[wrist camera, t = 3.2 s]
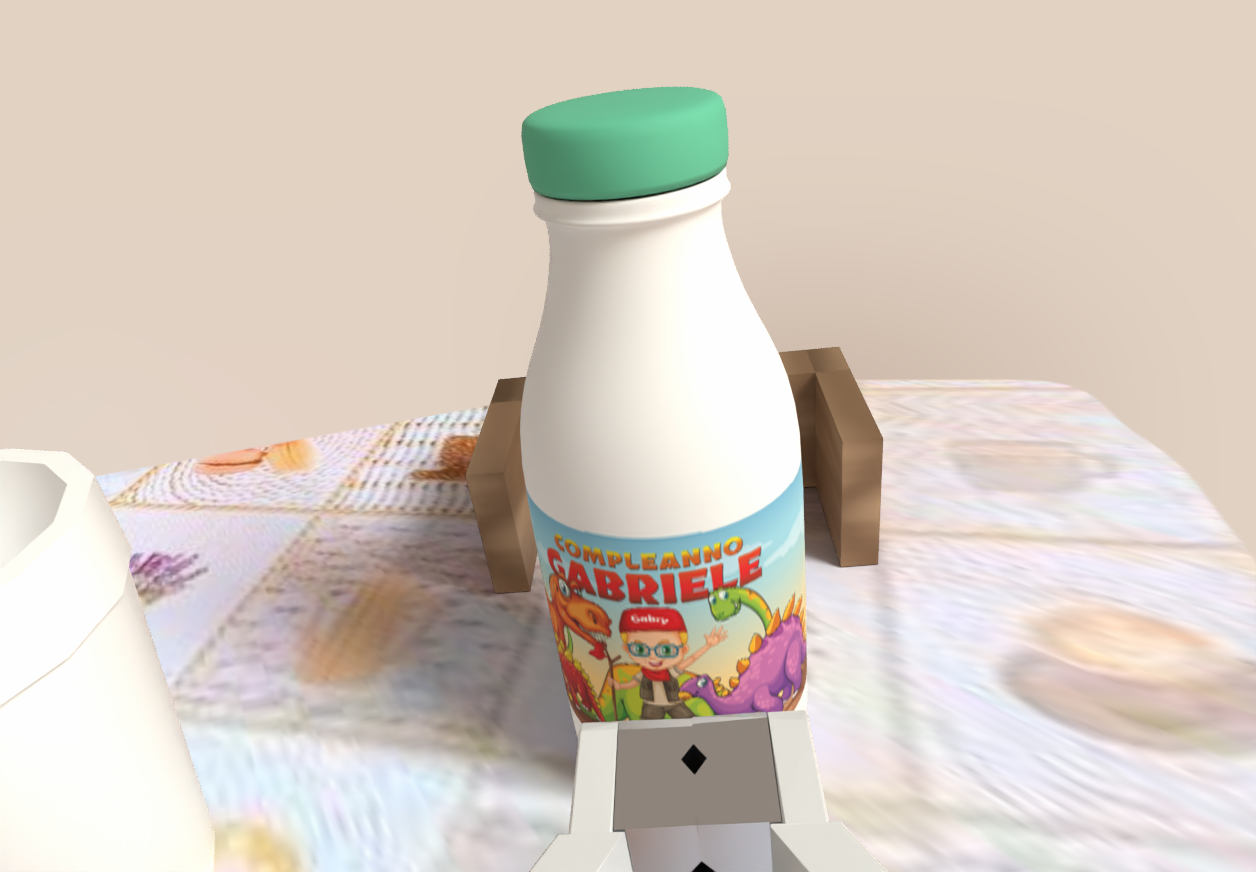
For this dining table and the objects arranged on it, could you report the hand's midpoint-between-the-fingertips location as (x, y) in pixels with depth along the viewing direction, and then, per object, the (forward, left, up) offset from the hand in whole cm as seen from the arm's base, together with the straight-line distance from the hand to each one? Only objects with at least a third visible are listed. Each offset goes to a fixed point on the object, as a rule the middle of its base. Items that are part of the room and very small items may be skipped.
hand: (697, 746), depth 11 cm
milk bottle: (-1, +12, -14) cm, 18 cm away
